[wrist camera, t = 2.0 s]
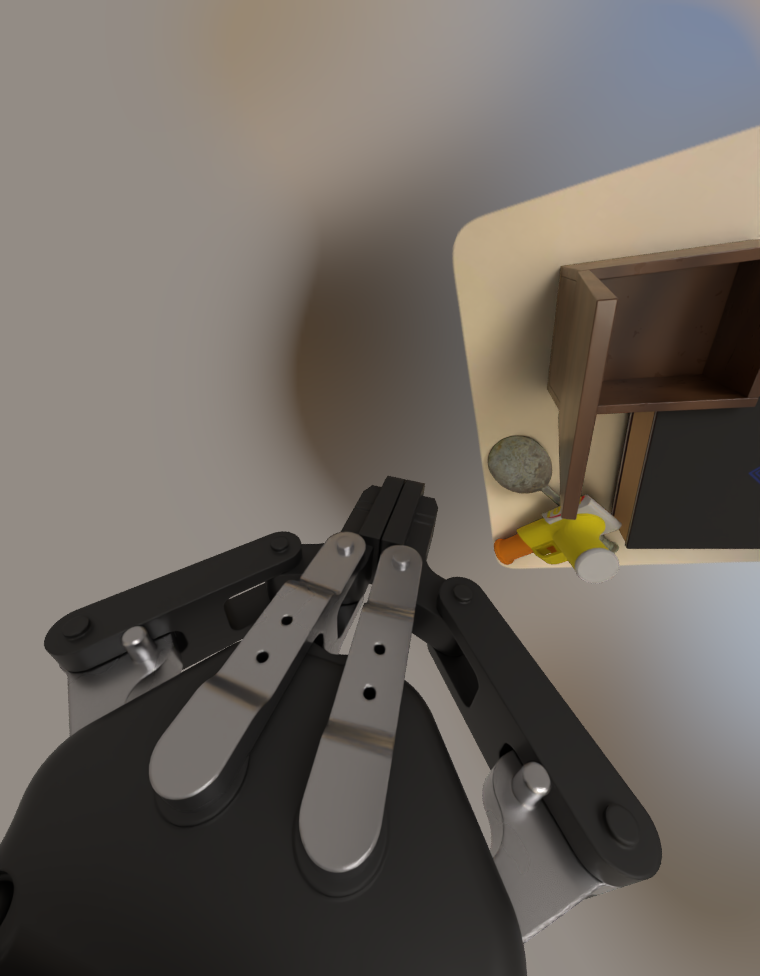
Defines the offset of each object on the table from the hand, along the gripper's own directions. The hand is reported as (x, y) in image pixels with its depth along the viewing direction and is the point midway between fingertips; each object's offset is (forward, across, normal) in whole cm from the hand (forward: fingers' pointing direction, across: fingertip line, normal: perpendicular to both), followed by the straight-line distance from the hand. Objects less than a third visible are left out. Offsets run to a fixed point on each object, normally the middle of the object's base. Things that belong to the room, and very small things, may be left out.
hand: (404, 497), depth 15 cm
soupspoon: (+30, -17, +16) cm, 38 cm away
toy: (+19, -15, +24) cm, 34 cm away
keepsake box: (+32, -15, -2) cm, 35 cm away
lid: (+15, -8, -1) cm, 17 cm away
